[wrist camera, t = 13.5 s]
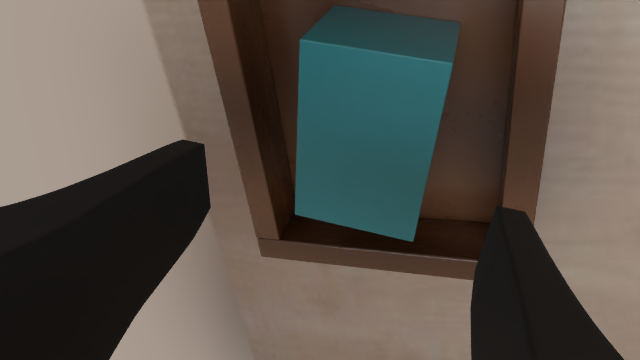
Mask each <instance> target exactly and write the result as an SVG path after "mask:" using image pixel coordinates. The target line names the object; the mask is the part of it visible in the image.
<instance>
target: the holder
mask: <svg viewBox="0 0 640 360" xmlns="http://www.w3.org/2000/svg"><path fill="white" fill-rule="evenodd" d="M198 4H199V8H200V12H201V16H202V20H203V24H204V28H205V32H206V36H207V40H208V44H209V48H210V52H211V56H212V60H213V64H214V68H215V72H216V76H217V80H218V84H219V88H220V92H221V96H222V100H223V104H224V108H225V112H226V116H227V120H228V124H229V128H230V132H231V136H232V140H233V144H234V148H235V152H236V156H237V160H238V164H239V168H240V172H241V176H242V180H243V184H244V188H245V192H246V196H247V200H248V204H249V208H250V213H251V217H252V221H253V225H254V229H255V233H256V237H257V238H258V239H257V240H258V244H259V248H260V252H261V255H262V256H263V257H271V258H280V259H289V260H298V261H307V262H315V263H324V264H333V265H342V266H351V267H360V268H369V269H378V270H387V271H396V272H405V273H413V274H422V275H431V276H440V277H449V278H458V279H467V280H474V273H475V268H476V265H477V262H478V259H479V256H480V253H481V251H482V248H483V245H484V242H485V239H486V236H487V233H488V230H489V227H490V224H491V221H492V218H493V215H494V212H495V209H496V206H501V207H506V208H511V209H515V210H520V211H525V212H526V213H527V215H528V217H529V218H530V220H531V222H532V224H533V226H534V220H535V213H536V206H537V199H538V192H539V185H540V178H541V172H542V165H543V158H544V151H545V144H546V137H547V130H548V123H549V116H550V109H551V103H552V96H553V89H554V82H555V75H556V68H557V61H558V54H559V47H560V40H561V34H562V27H563V20H564V13H565V6H566V0H198ZM334 5H337V6H344V7H352V8H359V9H366V10H373V11H381V12H388V13H395V14H402V15H409V16H417V17H424V18H431V19H438V20H445V21H453V22H459V23H460V30H459V35H458V41H457V46H456V52H455V57H454V63H453V67H452V72H451V76H450V81H449V85H448V90H447V94H446V99H445V103H444V108H443V112H442V116H441V121H440V125H439V130H438V134H437V139H436V143H435V148H434V152H433V157H432V161H431V166H430V170H429V174H428V179H427V183H426V188H425V192H424V197H423V201H422V206H421V210H420V215H419V219H418V223H417V228H416V232H415V237H414V241H413V242H411V241H407V240H402V239H398V238H394V237H389V236H385V235H381V234H377V233H372V232H368V231H364V230H359V229H355V228H351V227H347V226H342V225H338V224H334V223H329V222H325V221H321V220H316V219H312V218H308V217H304V216H299V215H296V214H295V186H296V152H297V118H298V84H299V50H300V39H301V38H302V37H303V36H304V35H305V34H306V33H307V32H308V31H309V30H310V29H311V28H312V27H313V26H314V25H315V24H316V23H317V22H318V21H319V20H320V19H321V18H322V17H323V16H324V15H325V14H326V13H327V12H328V11H329V10H330V9H331V8H332V7H333V6H334Z"/></svg>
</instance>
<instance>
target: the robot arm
mask: <svg viewBox="0 0 640 360" xmlns="http://www.w3.org/2000/svg"><path fill="white" fill-rule="evenodd" d="M209 209H210V197H209V187H208V177H207V167H206V157H205V147H204V144H202V143H197V142H192V141H187V140H180V141H177V142H174V143H172V144H169V145H166V146H164V147H161V148H159V149H157V150H155V151H152V152H150V153H147V154H145V155H143V156H141V157H138V158H136V159H134V160H131V161H129V162H127V163H125V164H122V165H120V166H118V167H115V168H113V169H111V170H108V171H106V172H104V173H101V174H98V175H96V176H93V177H91V178H88V179H85V180H83V181H80V182H78V183H75V184H73V185H70V186H68V187H65V188H62V189H59V190H56V191H53V192H50V193H47V194H45V195H42V196H38V197H35V198H31V199H28V200H25V201H22V202H18V203H15V204H11V205H7V206H3V207H0V360H109V359H110V357H111V356H112V354H113V352H114V350H115V349H116V347H117V345H118V344H119V342H120V340H121V339H122V337H123V335H124V334H125V332H126V331H127V329H128V327H129V326H130V324H131V322H132V321H133V319H134V317H135V316H136V315H137V313H138V312H139V310H140V309H141V307H142V306H143V305H144V303H145V302H146V301H147V299H148V298H149V296H150V295H151V294H152V293H153V291H154V290H155V289H156V287H157V286H158V285H159V283H160V282H161V281H162V280H163V278H164V277H165V276H166V274H167V273H168V272H169V270H170V269H171V268H172V267H173V265H174V264H175V263H176V261H177V260H178V259H179V257H180V256H181V254H182V253H183V252H184V251H185V249H186V248H187V246H188V245H189V244H190V242H191V241H192V240H193V238H194V237H195V235H196V233H197V231H198V230H199V228H200V226H201V224H202V222H203V221H204V219H205V217H206V215H207V213H208V211H209ZM471 357H472V360H624V359H623V358H622V357H621V355H620V354H619V353H618V352H617V351H616V349H615V348H614V347H613V346H612V345H611V343H610V342H609V341H608V340H607V339H606V337H605V336H604V335H603V334H602V332H601V331H600V330H599V329H598V327H597V326H596V325H595V323H594V322H593V321H592V319H591V318H590V317H589V315H588V314H587V312H586V311H585V309H584V308H583V307H582V305H581V304H580V302H579V301H578V299H577V298H576V296H575V295H574V293H573V292H572V290H571V289H570V287H569V286H568V284H567V283H566V281H565V279H564V278H563V276H562V275H561V273H560V271H559V270H558V268H557V267H556V265H555V263H554V262H553V260H552V258H551V256H550V255H549V253H548V251H547V249H546V248H545V246H544V244H543V242H542V241H541V239H540V237H539V235H538V233H537V231H536V230H535V228H534V226H533V224H532V222H531V220H530V218H529V217H528V215H527V213H526V212H525V211H520V210H515V209H511V208H506V207H501V206H496V209H495V212H494V215H493V218H492V221H491V224H490V227H489V230H488V233H487V236H486V239H485V242H484V245H483V248H482V251H481V253H480V256H479V259H478V262H477V265H476V268H475V273H474V282H473V290H472V300H471Z"/></svg>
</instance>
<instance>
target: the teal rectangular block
mask: <svg viewBox="0 0 640 360" xmlns="http://www.w3.org/2000/svg"><path fill="white" fill-rule="evenodd" d="M459 30H460V23H459V22H453V21H445V20H438V19H431V18H424V17H417V16H409V15H402V14H395V13H388V12H381V11H373V10H366V9H359V8H352V7H344V6H337V5H334V6H333V7H332V8H331V9H330V10H329V11H328V12H327V13H326V14H325V15H324V16H323V17H322V18H321V19H320V20H319V21H318V22H317V23H316V24H315V25H314V26H313V27H312V28H311V29H310V30H309V31H308V32H307V33H306V34H305V35H304V36H303V37H302V38H301V39H300V50H299V84H298V118H297V152H296V186H295V214H296V215H299V216H304V217H308V218H312V219H316V220H321V221H325V222H329V223H334V224H338V225H342V226H347V227H351V228H355V229H359V230H364V231H368V232H372V233H377V234H381V235H385V236H389V237H394V238H398V239H402V240H407V241H411V242H413V241H414V237H415V232H416V228H417V223H418V219H419V215H420V210H421V206H422V201H423V197H424V192H425V188H426V183H427V179H428V174H429V170H430V166H431V161H432V157H433V152H434V148H435V143H436V139H437V134H438V130H439V125H440V121H441V116H442V112H443V108H444V103H445V99H446V94H447V90H448V85H449V81H450V76H451V72H452V67H453V63H454V57H455V52H456V46H457V41H458V35H459Z"/></svg>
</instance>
